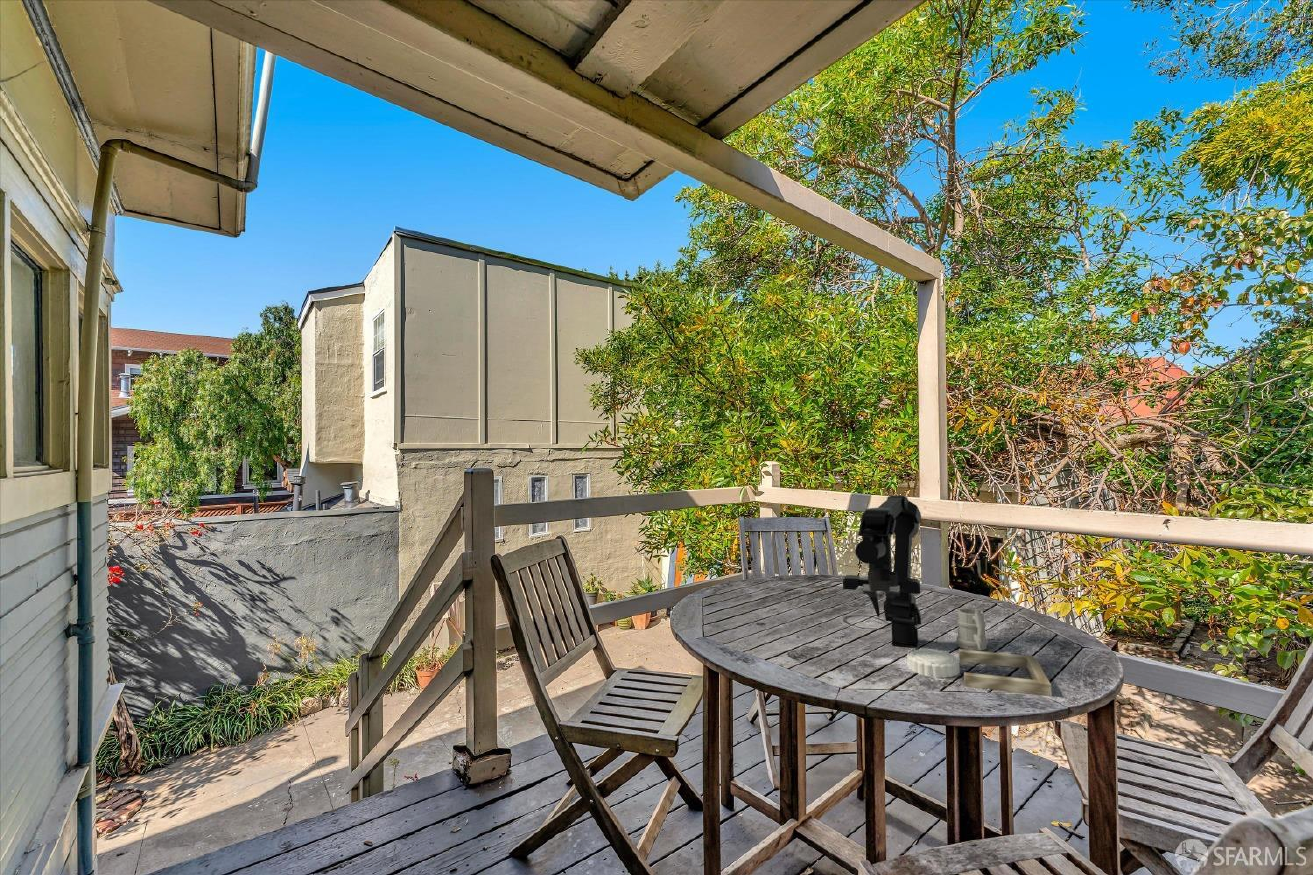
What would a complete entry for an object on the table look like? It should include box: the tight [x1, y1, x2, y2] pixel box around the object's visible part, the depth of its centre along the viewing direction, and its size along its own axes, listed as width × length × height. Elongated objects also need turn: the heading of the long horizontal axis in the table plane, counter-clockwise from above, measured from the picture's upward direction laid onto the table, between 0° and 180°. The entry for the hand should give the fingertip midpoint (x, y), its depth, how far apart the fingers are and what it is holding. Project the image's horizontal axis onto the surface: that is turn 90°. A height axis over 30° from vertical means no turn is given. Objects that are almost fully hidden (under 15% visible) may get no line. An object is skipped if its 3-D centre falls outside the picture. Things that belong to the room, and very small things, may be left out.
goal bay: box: [958, 648, 1052, 697], centre depth 140 cm, size 17×19×2 cm
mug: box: [956, 607, 989, 651], centre depth 159 cm, size 8×12×12 cm, turn 171°
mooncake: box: [906, 648, 961, 679], centre depth 146 cm, size 12×12×4 cm
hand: (882, 616), depth 151 cm, fingers closed
